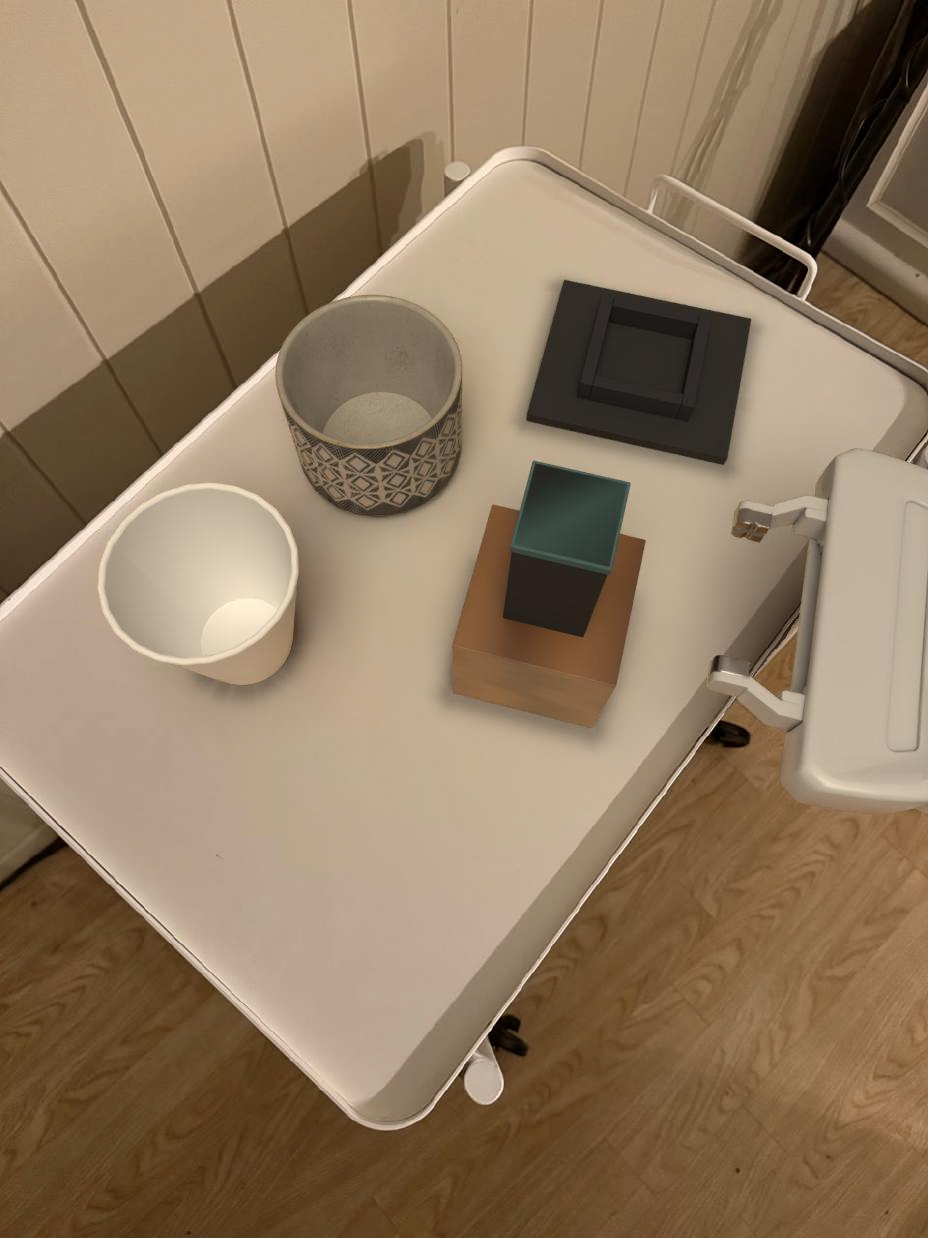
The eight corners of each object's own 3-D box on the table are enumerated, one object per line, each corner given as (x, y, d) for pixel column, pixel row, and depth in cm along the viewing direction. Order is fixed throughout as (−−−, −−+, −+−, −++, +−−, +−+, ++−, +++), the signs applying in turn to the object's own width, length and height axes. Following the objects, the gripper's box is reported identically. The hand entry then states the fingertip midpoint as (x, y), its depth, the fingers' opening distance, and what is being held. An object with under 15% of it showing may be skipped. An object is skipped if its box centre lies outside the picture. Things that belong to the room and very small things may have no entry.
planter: (488, 484, 68) (494, 404, 58) (339, 548, 66) (318, 476, 56) (420, 363, 72) (414, 270, 62) (277, 420, 70) (247, 332, 60)
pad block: (601, 564, 54) (631, 482, 45) (584, 639, 52) (611, 570, 43) (520, 544, 55) (533, 459, 45) (500, 619, 53) (509, 546, 44)
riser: (618, 600, 64) (646, 539, 55) (591, 728, 61) (615, 686, 51) (487, 568, 65) (492, 503, 56) (453, 693, 61) (452, 646, 52)
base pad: (748, 326, 73) (759, 301, 71) (723, 465, 68) (735, 444, 66) (562, 287, 75) (566, 261, 72) (525, 420, 70) (528, 398, 67)
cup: (292, 741, 60) (253, 689, 49) (135, 692, 61) (60, 630, 50) (350, 590, 64) (327, 509, 53) (202, 547, 66) (147, 459, 54)
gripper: (1020, 457, 47) (766, 402, 48) (1011, 830, 40) (711, 755, 41) (958, 513, 53) (732, 463, 54) (939, 847, 46) (679, 781, 47)
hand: (722, 591), depth 47 cm, fingers open, 8 cm apart
